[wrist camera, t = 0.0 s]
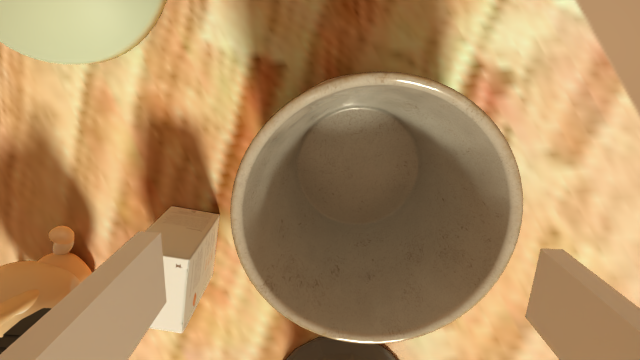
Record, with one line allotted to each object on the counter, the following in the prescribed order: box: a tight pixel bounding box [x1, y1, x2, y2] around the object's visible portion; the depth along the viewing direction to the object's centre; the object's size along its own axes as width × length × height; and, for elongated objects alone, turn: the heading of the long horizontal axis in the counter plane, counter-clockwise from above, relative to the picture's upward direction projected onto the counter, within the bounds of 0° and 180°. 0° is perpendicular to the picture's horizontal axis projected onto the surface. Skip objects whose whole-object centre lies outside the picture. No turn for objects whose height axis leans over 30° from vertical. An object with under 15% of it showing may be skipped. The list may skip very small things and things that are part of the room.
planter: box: [231, 72, 523, 344], centre depth 33 cm, size 19×19×16 cm
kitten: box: [0, 226, 92, 337], centre depth 38 cm, size 15×10×15 cm
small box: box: [145, 206, 220, 333], centre depth 39 cm, size 8×6×10 cm
